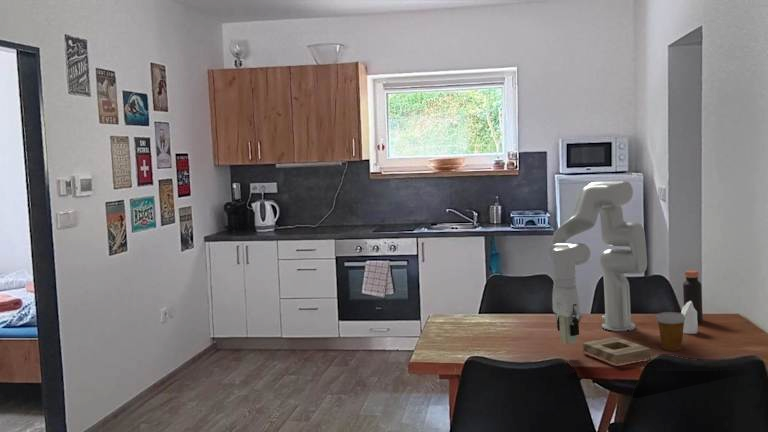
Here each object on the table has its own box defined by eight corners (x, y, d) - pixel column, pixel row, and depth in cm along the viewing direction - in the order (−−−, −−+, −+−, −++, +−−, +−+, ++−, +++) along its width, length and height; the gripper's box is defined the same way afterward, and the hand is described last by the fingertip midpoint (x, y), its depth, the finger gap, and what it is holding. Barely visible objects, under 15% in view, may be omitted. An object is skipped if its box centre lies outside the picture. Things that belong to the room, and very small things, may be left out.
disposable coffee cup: (683, 353, 247) (682, 318, 246) (654, 350, 252) (653, 317, 251) (688, 345, 255) (687, 312, 254) (660, 343, 260) (659, 311, 259)
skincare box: (559, 339, 254) (557, 306, 253) (572, 338, 254) (569, 304, 253) (565, 345, 248) (563, 310, 246) (578, 343, 248) (576, 309, 247)
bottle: (680, 320, 290) (678, 271, 288) (693, 317, 292) (691, 269, 291) (693, 323, 283) (691, 273, 282) (706, 320, 286) (704, 271, 284)
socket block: (583, 354, 254) (583, 343, 254) (616, 347, 259) (616, 336, 258) (616, 367, 237) (615, 355, 237) (650, 360, 242) (650, 348, 241)
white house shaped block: (677, 300, 273) (689, 298, 275) (678, 331, 274) (690, 329, 276) (688, 303, 268) (700, 301, 269) (689, 334, 269) (701, 332, 270)
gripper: (541, 280, 256) (545, 329, 258) (570, 288, 239) (573, 340, 241) (559, 277, 258) (563, 325, 260) (589, 285, 242) (592, 336, 244)
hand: (568, 332), depth 251 cm, fingers closed on skincare box, 6 cm apart
